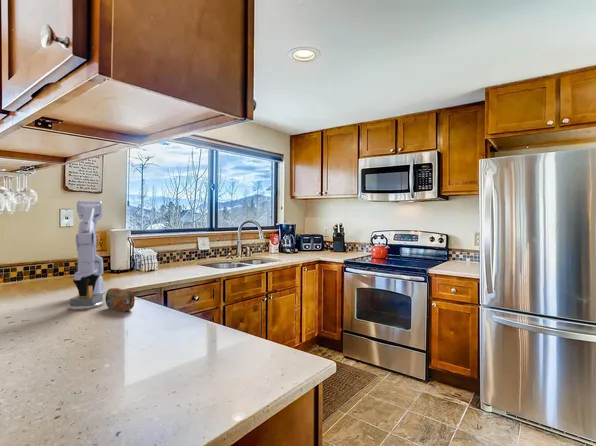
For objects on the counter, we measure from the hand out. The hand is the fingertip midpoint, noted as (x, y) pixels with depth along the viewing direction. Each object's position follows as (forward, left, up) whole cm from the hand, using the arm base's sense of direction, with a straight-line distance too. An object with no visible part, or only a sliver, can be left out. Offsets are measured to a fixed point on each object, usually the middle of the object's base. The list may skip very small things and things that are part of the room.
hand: (86, 294), depth 138 cm
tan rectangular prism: (0, 0, -4) cm, 4 cm away
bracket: (0, 0, -5) cm, 5 cm away
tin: (+8, +16, -5) cm, 18 cm away
